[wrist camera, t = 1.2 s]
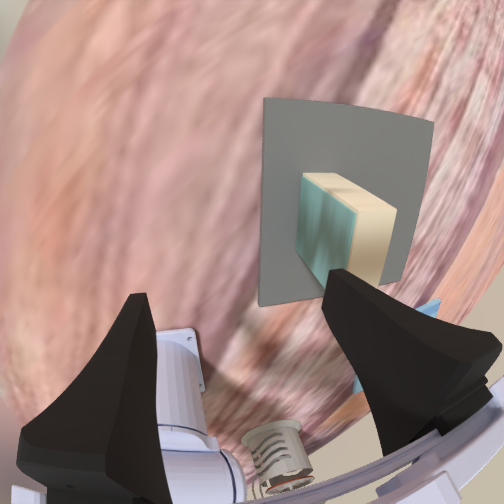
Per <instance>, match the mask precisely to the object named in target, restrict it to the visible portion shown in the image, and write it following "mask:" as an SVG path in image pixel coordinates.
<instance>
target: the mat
mask: <svg viewBox="0 0 504 504" xmlns="http://www.w3.org/2000/svg"><path fill="white" fill-rule="evenodd" d="M433 128H434V122H432V121H428V120H424V119H420V118H416V117H412V116H407V115H403V114H398V113H393V112H388V111H383V110H377V109H372V108H366V107H359V106H353V105H345V104H338V103H329V102H320V101H310V100H297V99H281V98H263V143H262V182H261V218H260V252H259V283H258V305H259V307H263V306H270V305H276V304H282V303H288V302H294V301H300V300H306V299H311V298H317V297H323V296H324V293H325V289H324V287H323V286H322V285H321V283H320V282H319V281H318V279H317V278H316V277H315V275H314V274H313V272H312V271H311V270H310V268H309V267H308V266H307V264H306V263H305V262H304V260H303V259H302V258H301V256H300V255H299V254H298V252H297V251H296V239H297V228H298V217H299V205H300V192H301V179H302V177H303V173H336V174H338V175H340V176H342V177H344V178H345V179H347V180H349V181H351V182H352V183H354V184H356V185H358V186H359V187H361V188H363V189H365V190H366V191H368V192H370V193H371V194H373V195H375V196H376V197H378V198H380V199H381V200H383V201H385V202H386V203H388V204H389V205H391V206H393V207H394V208H396V209H397V213H396V217H395V222H394V227H393V231H392V235H391V240H390V244H389V248H388V252H387V256H386V260H385V263H384V267H383V271H382V274H381V278H380V281H379V285H383V284H387V283H392V282H397V281H400V280H401V277H402V274H403V271H404V268H405V264H406V261H407V258H408V254H409V251H410V247H411V243H412V240H413V236H414V232H415V228H416V224H417V220H418V215H419V211H420V207H421V202H422V197H423V192H424V187H425V182H426V177H427V171H428V165H429V159H430V152H431V145H432V137H433Z"/></svg>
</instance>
